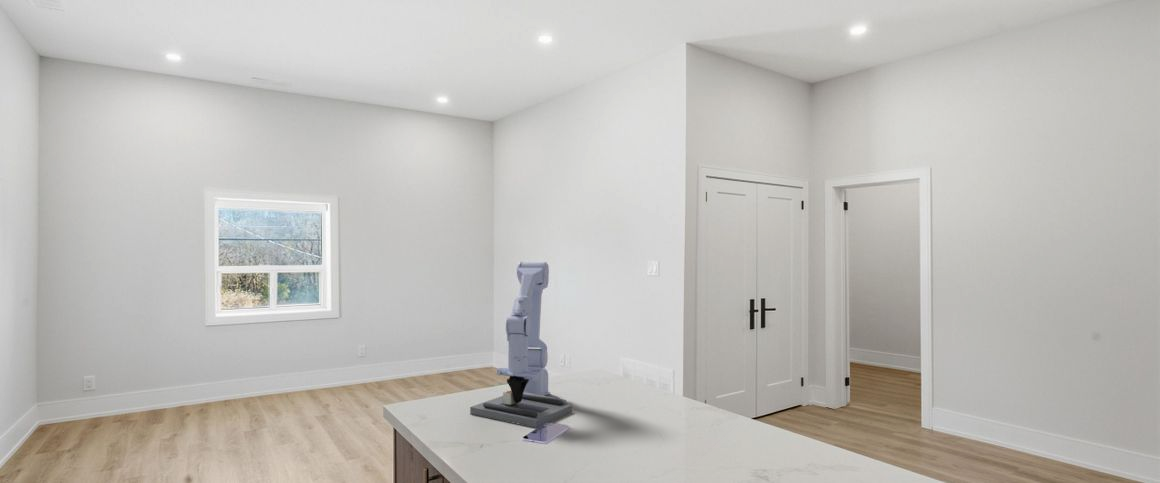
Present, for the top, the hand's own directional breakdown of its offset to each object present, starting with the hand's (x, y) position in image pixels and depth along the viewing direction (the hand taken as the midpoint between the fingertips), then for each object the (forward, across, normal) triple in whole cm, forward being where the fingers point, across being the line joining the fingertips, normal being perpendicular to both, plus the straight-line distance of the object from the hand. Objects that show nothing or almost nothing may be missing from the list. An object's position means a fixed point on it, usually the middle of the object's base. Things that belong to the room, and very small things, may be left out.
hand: (517, 402), depth 173 cm
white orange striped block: (+1, -3, 0) cm, 3 cm away
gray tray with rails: (+1, +2, +1) cm, 2 cm away
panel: (+3, +1, 0) cm, 3 cm away
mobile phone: (+4, +18, -11) cm, 22 cm away
